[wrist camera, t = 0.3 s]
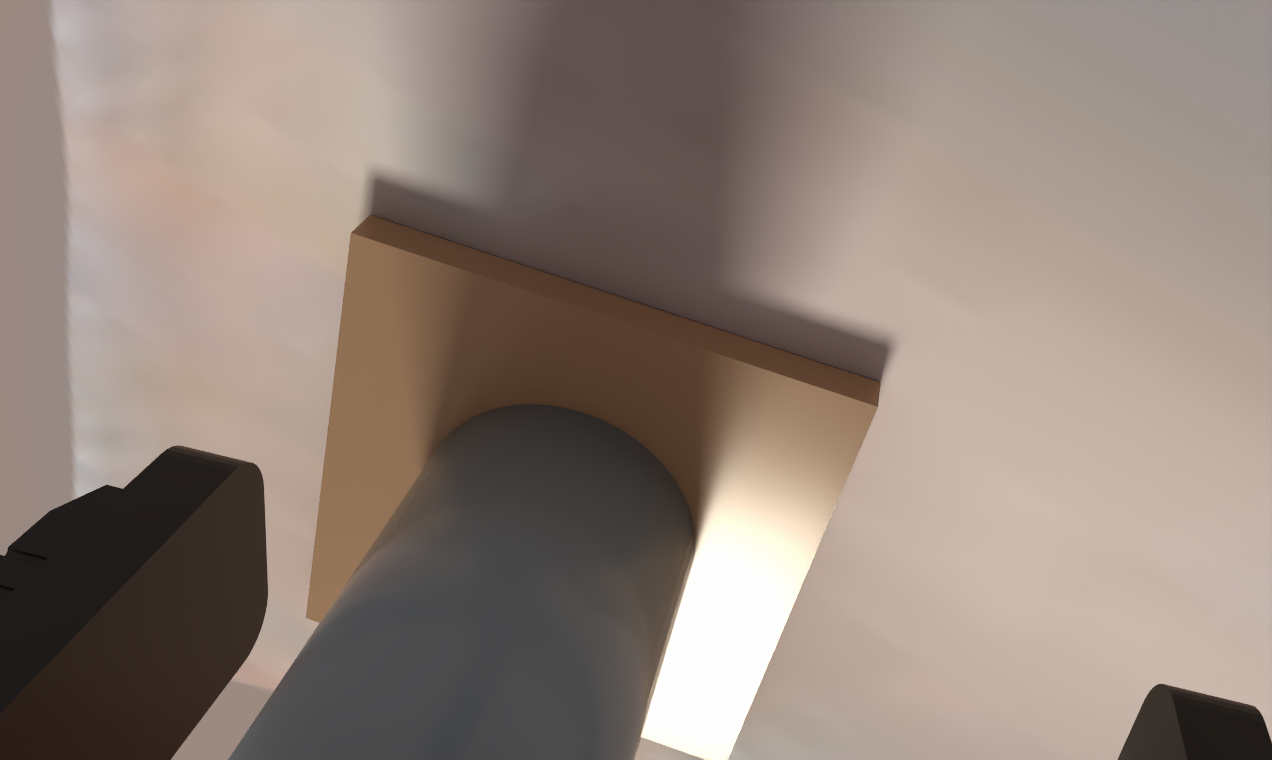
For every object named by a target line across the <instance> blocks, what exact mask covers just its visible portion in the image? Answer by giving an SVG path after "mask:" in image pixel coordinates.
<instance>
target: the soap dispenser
mask: <svg viewBox="0 0 1272 760" xmlns="http://www.w3.org/2000/svg"><path fill="white" fill-rule="evenodd" d="M879 392H880V382H877V381H874V380H871V379H868V378H865V377H862V376H859V375H856V374H853V373H850V372H847V371H844V370H841V369H838V368H834V367H831V366H828V365H825V364H822V363H819V362H816V361H813V360H810V359H807V358H804V357H801V356H798V355H795V354H792V353H789V352H786V351H783V350H780V349H777V348H774V347H771V346H768V345H764V344H761V343H758V342H755V341H752V340H749V339H746V338H743V337H740V336H737V335H734V334H731V333H728V332H725V331H722V330H719V329H716V328H713V327H710V326H707V325H704V324H701V323H698V322H695V321H691V320H688V319H685V318H682V317H679V316H676V315H673V314H670V313H667V312H664V311H661V310H658V309H655V308H652V307H649V306H646V305H643V304H640V303H637V302H634V301H631V300H628V299H625V298H621V297H618V296H615V295H612V294H609V293H606V292H603V291H600V290H597V289H594V288H591V287H588V286H585V285H582V284H579V283H576V282H573V281H570V280H567V279H564V278H561V277H558V276H555V275H551V274H548V273H545V272H542V271H539V270H536V269H533V268H530V267H527V266H524V265H521V264H518V263H515V262H512V261H509V260H506V259H503V258H500V257H497V256H494V255H491V254H488V253H485V252H482V251H478V250H475V249H472V248H469V247H466V246H463V245H460V244H457V243H454V242H451V241H448V240H445V239H442V238H439V237H436V236H433V235H430V234H427V233H424V232H421V231H418V230H415V229H412V228H408V227H405V226H402V225H399V224H396V223H393V222H390V221H387V220H384V219H381V218H378V217H375V216H372V215H370V216H369V217H368V218H367V219H365V220H364V221H363V222H362V223H361V224H360V225H359V226H358V227H357V228H356V229H355V230H354V231H353V232H352V233H351V238H350V246H349V255H348V263H347V272H346V280H345V289H344V297H343V306H342V315H341V323H340V332H339V340H338V349H337V357H336V366H335V374H334V383H333V392H332V400H331V409H330V417H329V426H328V434H327V443H326V451H325V460H324V468H323V477H322V486H321V494H320V503H319V511H318V520H317V528H316V537H315V545H314V554H313V563H312V571H311V580H310V588H309V597H308V605H307V614H306V618H308V619H311V620H314V621H316V622H319V625H318V626H317V628H316V629H315V631H314V632H313V634H312V635H311V637H310V638H309V640H308V641H307V643H306V644H305V646H304V647H303V649H302V650H301V652H300V653H299V655H298V656H297V658H296V659H295V661H294V662H293V664H292V665H291V667H290V668H289V670H288V671H287V673H286V674H285V676H284V677H283V679H282V680H281V682H280V683H279V685H278V686H277V688H276V689H275V691H274V692H273V694H272V696H271V697H270V698H269V700H268V701H267V703H266V704H265V706H264V707H263V709H262V710H261V712H260V713H259V715H258V716H257V718H256V719H255V721H254V722H253V724H252V725H251V727H250V728H249V730H248V731H247V733H246V734H245V735H244V737H243V739H242V740H241V741H240V743H239V744H238V746H237V747H236V749H235V750H234V752H233V753H232V755H231V757H230V758H229V760H634V759H635V756H636V752H637V749H638V746H639V742H640V739H641V737H644V738H646V739H649V740H652V741H655V742H658V743H660V744H663V745H666V746H669V747H672V748H675V749H677V750H680V751H683V752H686V753H689V754H692V755H694V756H697V757H700V758H703V759H706V760H728V758H729V755H730V753H731V751H732V748H733V746H734V744H735V741H736V739H737V736H738V734H739V732H740V729H741V727H742V725H743V722H744V720H745V718H746V715H747V713H748V711H749V708H750V706H751V704H752V701H753V699H754V697H755V694H756V692H757V689H758V687H759V685H760V682H761V680H762V678H763V675H764V673H765V671H766V668H767V666H768V664H769V661H770V659H771V657H772V654H773V652H774V650H775V647H776V645H777V642H778V640H779V638H780V635H781V633H782V631H783V628H784V626H785V624H786V621H787V619H788V617H789V614H790V612H791V610H792V607H793V605H794V603H795V600H796V598H797V595H798V593H799V591H800V588H801V586H802V584H803V581H804V579H805V577H806V574H807V572H808V570H809V567H810V565H811V563H812V560H813V558H814V556H815V553H816V551H817V548H818V546H819V544H820V541H821V539H822V537H823V534H824V532H825V530H826V527H827V525H828V523H829V520H830V518H831V516H832V513H833V511H834V509H835V506H836V504H837V501H838V499H839V497H840V494H841V492H842V490H843V487H844V485H845V483H846V480H847V478H848V476H849V473H850V471H851V469H852V466H853V464H854V462H855V459H856V457H857V454H858V452H859V450H860V447H861V445H862V443H863V440H864V438H865V436H866V433H867V431H868V429H869V426H870V424H871V422H872V419H873V417H874V415H875V412H876V410H877V407H878V400H879Z"/></svg>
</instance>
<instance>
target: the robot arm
mask: <svg viewBox="0 0 1272 760" xmlns="http://www.w3.org/2000/svg"><path fill="white" fill-rule="evenodd" d="M267 599H268V581H267V555H266V529H265V503H264V483H263V477H262V473H261V471H260V469H259V468H258V467H257V465H255V464H254V463H250V462H246V461H242V460H238V459H234V458H230V457H225V456H221V455H217V454H213V453H209V452H205V451H200V450H196V449H192V448H188V447H184V446H173V447H171V448H169V449H167V450H166V451H164V452H163V453H162V454H161V455H159V456H158V457H157V458H156V459H155V460H154V461H153V462H152V463H151V464H150V465H149V466H147V467H146V468H145V469H144V470H143V471H142V472H141V473H140V474H139V475H138V476H137V477H136V478H134V479H133V480H132V481H131V482H130V483H129V484H128V485H127V486H126V487H125V488H124V489H121V488H117V487H113V486H109V485H105V486H103V487H101V488H98V489H96V490H94V491H92V492H90V493H88V494H86V495H83V496H81V497H79V498H77V499H75V500H73V501H70V502H68V503H66V504H64V505H62V506H60V507H58V508H55V509H53V510H51V511H49V512H48V513H47V514H46V515H45V516H44V517H42V518H41V519H40V520H39V521H38V522H37V523H35V524H34V525H33V526H32V527H31V528H30V529H29V530H27V531H26V532H25V533H24V534H23V535H22V536H21V537H20V538H18V539H17V540H16V541H15V542H14V543H12V544H11V545H10V546H9V547H8V551H7V553H6V555H5V556H2V555H0V760H171V758H172V757H173V756H174V754H175V753H176V752H177V750H178V749H179V748H180V746H181V745H182V743H183V742H184V741H185V740H186V738H187V737H188V736H189V734H190V733H191V732H192V730H193V729H194V728H195V726H196V725H197V724H198V722H199V721H200V720H201V718H202V717H203V716H204V714H205V713H206V712H207V711H208V709H209V708H210V707H211V705H212V704H213V703H214V701H215V700H216V699H217V697H218V696H219V695H220V693H221V692H222V691H223V689H224V688H225V687H226V685H227V684H228V683H229V681H230V680H231V679H232V677H233V676H234V675H235V673H236V672H237V671H238V670H239V668H240V667H241V666H242V664H243V663H244V661H245V660H246V659H247V657H248V656H249V654H250V652H251V650H252V649H253V647H254V644H255V642H256V640H257V638H258V635H259V633H260V630H261V627H262V624H263V620H264V616H265V612H266V607H267ZM1118 760H1272V742H1271V739H1270V736H1269V733H1268V730H1267V727H1266V724H1265V721H1264V719H1263V716H1262V715H1261V713H1260V712H1259V710H1258V709H1257V708H1256V707H1254V706H1251V705H1248V704H1244V703H1240V702H1235V701H1231V700H1227V699H1223V698H1219V697H1215V696H1210V695H1206V694H1202V693H1198V692H1194V691H1190V690H1185V689H1181V688H1177V687H1173V686H1169V685H1165V684H1158V685H1156V686H1154V687H1153V688H1152V690H1151V691H1150V692H1149V693H1148V695H1147V697H1146V698H1145V700H1144V702H1143V705H1142V707H1141V709H1140V711H1139V713H1138V716H1137V718H1136V720H1135V722H1134V725H1133V727H1132V729H1131V731H1130V733H1129V736H1128V738H1127V740H1126V742H1125V745H1124V747H1123V749H1122V751H1121V753H1120V756H1119V758H1118Z"/></svg>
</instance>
